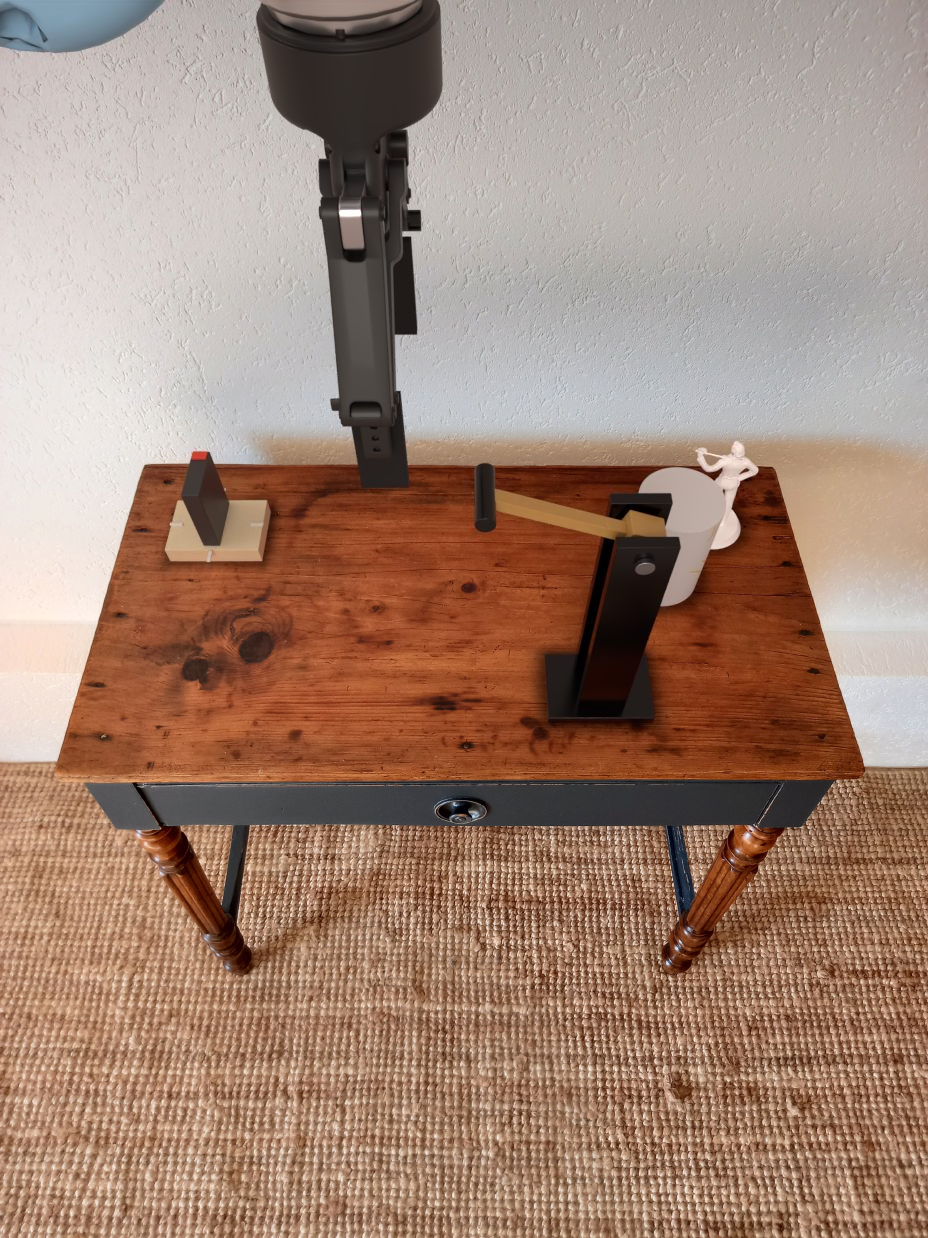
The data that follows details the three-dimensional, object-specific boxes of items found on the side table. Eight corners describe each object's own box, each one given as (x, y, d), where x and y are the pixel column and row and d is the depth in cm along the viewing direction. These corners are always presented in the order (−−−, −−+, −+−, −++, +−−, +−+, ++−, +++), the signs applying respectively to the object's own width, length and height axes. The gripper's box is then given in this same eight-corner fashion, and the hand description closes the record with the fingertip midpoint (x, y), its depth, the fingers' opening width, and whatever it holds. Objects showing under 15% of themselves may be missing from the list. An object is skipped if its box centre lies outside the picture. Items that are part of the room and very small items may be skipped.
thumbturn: (220, 546, 85) (197, 494, 78) (203, 546, 85) (179, 493, 78) (229, 503, 89) (209, 449, 82) (213, 503, 89) (191, 449, 82)
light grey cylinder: (701, 606, 83) (732, 533, 73) (622, 605, 83) (643, 532, 73) (690, 544, 87) (719, 467, 77) (616, 543, 88) (634, 466, 78)
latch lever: (468, 534, 54) (481, 512, 52) (468, 478, 56) (481, 455, 54) (652, 577, 58) (670, 558, 56) (644, 523, 60) (661, 503, 58)
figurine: (736, 501, 91) (769, 421, 81) (744, 550, 87) (779, 474, 77) (672, 498, 91) (697, 418, 81) (677, 547, 87) (704, 470, 77)
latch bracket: (547, 723, 76) (577, 559, 54) (543, 659, 80) (570, 482, 58) (652, 723, 76) (724, 559, 54) (644, 659, 80) (708, 482, 58)
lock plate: (166, 573, 86) (159, 561, 84) (184, 501, 92) (179, 488, 90) (261, 573, 86) (256, 561, 84) (273, 500, 91) (269, 488, 90)
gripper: (432, 157, 25) (449, 561, 43) (445, -115, 39) (454, 279, 57) (195, 159, 25) (310, 561, 43) (291, -113, 39) (348, 279, 57)
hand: (391, 402), depth 50 cm, fingers open, 13 cm apart
